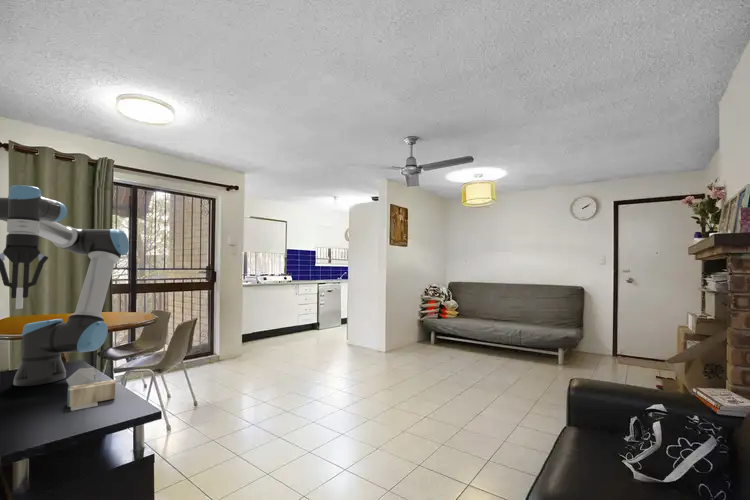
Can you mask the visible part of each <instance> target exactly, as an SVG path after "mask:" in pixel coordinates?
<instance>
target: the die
mask: <svg viewBox="0 0 750 500" xmlns="http://www.w3.org/2000/svg"><path fill="white" fill-rule="evenodd" d="M65 381H66V383H67V385H68V387H70V386H76V385H83V384H89V383H96V382H100V378H99V376H98V374H97V372H96V370H95V368H94V367H87V368H86V367H81V368H80V367H79V368H78V369H77V370H76V371H75V372H74V373H72V374H71V375H70V376H69V377H67V378H66V380H65Z"/></svg>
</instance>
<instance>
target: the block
mask: <svg viewBox="0 0 750 500" xmlns="http://www.w3.org/2000/svg"><path fill="white" fill-rule="evenodd" d="M66 398H67V399H66V400H67V401H66V404H67V405H66V407H67V408H71V406H76V405H82V404H87V403H93V402H97V403H98V402H103V401H108V400H114V399H116V382H115V379H110V380H104V381H102V380H101V381H99V382H96V383H89V384H83V385H76V386H70V387H69V386H67V397H66Z"/></svg>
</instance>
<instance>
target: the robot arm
mask: <svg viewBox="0 0 750 500" xmlns="http://www.w3.org/2000/svg"><path fill="white" fill-rule="evenodd" d="M67 214H68V209H67V206H66V205H65V204H63V203H62V202H60V201H57V200H55V199H51V198H47V197H44V196H42V191H41V189H40V188H39V187H37V186H33V185H24V184H14V185H12V186H9V190H8V197H0V221H3V222H6V232H7V233H8V234H6V237H5V239H6V241H5V248H4V250H3V252H1V253H0V276H1V280H2V284H3V285H4V286H5V287H7V288H11V294H10V296H11V299H15V310H21V309H23V308H24V299H26V298H28V297H29V290H30V289H29V288H30V287H32V286H36V285H37V283H38V281H39V277H40V275H41V272H42V270H43V267H44V264H45V263H46V262H47V260H49V256H47V255H44V254H42V253H41V251H40V249H39V242H40V241H39V239H40V238H44V239H46V240H48V241H50V242H52V244H53V245H54V246H55V247H58V248H60V249H62V250H64V251H68V252H70V253H74V254H78V255H80V256H81V255H82V256H83V255H84V256H87V257H88V258H89V259H90V261H89V265H88V268H87V271H86V272H87V273H86V275H85V277H84V281H83V285H82V288H81V292H80V294H79V298H78V301H77V305H76V308H75V312H73V313H72V314H70V315H69V316H68V319H67V322H66V321H65V322H64V320H63V318H55V319H48V320H47V319H46V320H42V321H41V320H40V321H36V322H30V323H26V324H25V325H24V326H23V329H22V333H21V353H20V354H21V359H20V364H19V367H18V368H17V370H16V373H15V376H14V378H13V386H17V387H30V386H32V387H33V386H39V385H45V384H46V385H47V384H49V383H55V382H58V381H61V380H62V381H63V379H65V378H66V377H67V370H66V368H65V365H64V362H63V360H62V354H63V353H87V352H94V351H97V350H98V349H100V348H101V347H102V346H103V344H104V343H105V342H106V339H107V337H108V329H109V328H108V324H107V323H106V322H104V321H105V318H104V317H103V316H102V312H103V307H104V305H105V302H106V298H107V294H108V290H109V286H110V282H111V279H112V275H113V272H114V267H115V265H116V263H117V264H118V263H119V262H120V261H121V257H124V256H126V255H127V254H128V253H129V251H130V243H129V237H128V236H127V234H126V233H125V232H124V231H123V230H121V229H114V228H109V229H107V228H106V229H104V228H102V229H100V228H98V229H96V228H91V229H89V228H75V227H73V226H71V225H64V224H61V223H59V222H61V221H63V220H64V219H66V217H67ZM5 257H6V258H7V259H8V260H9V261H10V262H11V263H12V271H11V273H12V274H11V282H10V278H9V276H8V275H9V274H8V273H7V268H6V265H5V262H4V261H5ZM36 258H38V259H37V260H38V261H39V262H38V263H37V266H36V269H35V271H34V274H33V277H32V280H31V282H30V267H31V263H32V262H33V261H35V259H36ZM20 264H23V277H22V279H23V280H22V281H23V282H22V287H19V267H20Z"/></svg>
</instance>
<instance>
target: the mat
mask: <svg viewBox="0 0 750 500" xmlns="http://www.w3.org/2000/svg"><path fill="white" fill-rule="evenodd" d="M98 406H99V404H98V402H93V403H87V404H82V405H76V406H71V407H70V411H72V412H74V411H78V410H83V409H90V408H95V407H98Z"/></svg>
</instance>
